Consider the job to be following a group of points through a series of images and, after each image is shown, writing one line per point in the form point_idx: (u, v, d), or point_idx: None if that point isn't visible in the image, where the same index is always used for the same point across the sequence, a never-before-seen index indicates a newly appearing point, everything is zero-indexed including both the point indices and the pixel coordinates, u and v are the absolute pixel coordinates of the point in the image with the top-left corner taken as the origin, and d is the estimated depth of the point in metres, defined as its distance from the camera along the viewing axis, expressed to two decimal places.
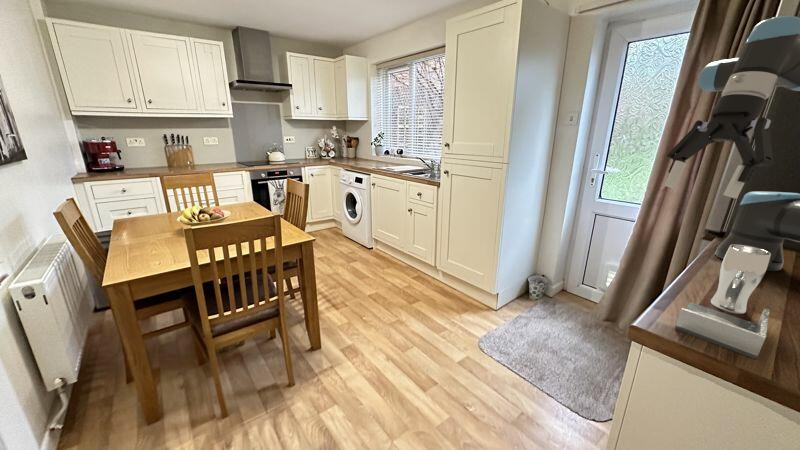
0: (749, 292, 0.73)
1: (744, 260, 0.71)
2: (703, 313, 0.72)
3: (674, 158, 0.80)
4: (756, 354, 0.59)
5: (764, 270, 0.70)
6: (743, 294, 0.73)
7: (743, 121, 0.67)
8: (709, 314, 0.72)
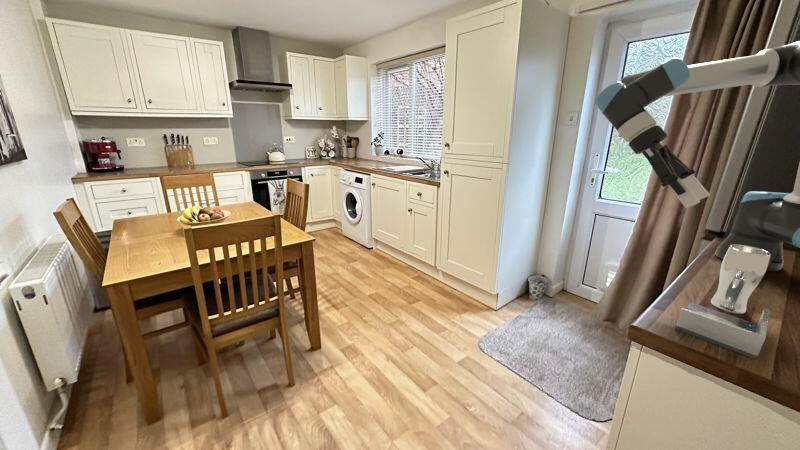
0: (749, 292, 0.73)
1: (744, 260, 0.71)
2: (703, 313, 0.72)
3: None
4: (756, 354, 0.59)
5: (764, 270, 0.70)
6: (743, 294, 0.73)
7: None
8: (709, 314, 0.72)
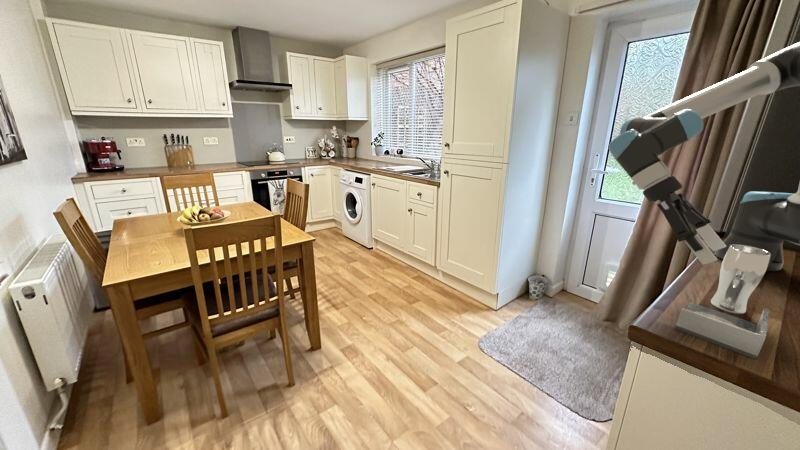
0: (749, 292, 0.73)
1: (744, 260, 0.71)
2: (703, 313, 0.72)
3: None
4: (756, 354, 0.59)
5: (764, 270, 0.70)
6: (743, 294, 0.73)
7: None
8: (709, 314, 0.72)
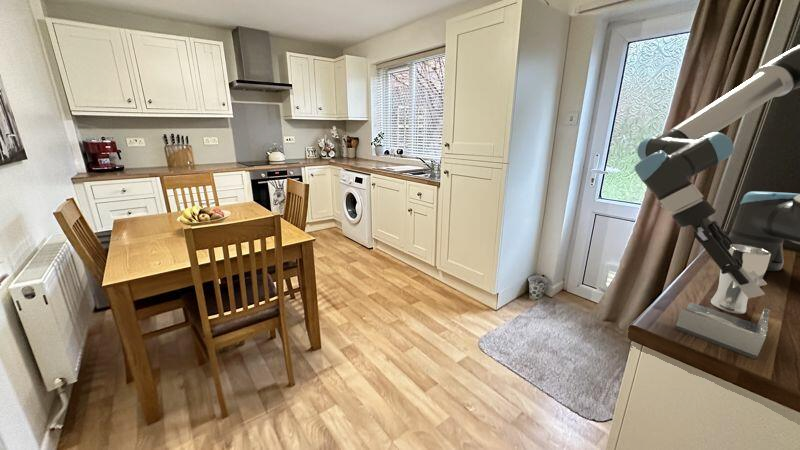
0: None
1: (744, 260, 0.71)
2: (703, 313, 0.72)
3: None
4: (756, 354, 0.59)
5: (764, 270, 0.70)
6: (743, 294, 0.73)
7: None
8: (709, 314, 0.72)
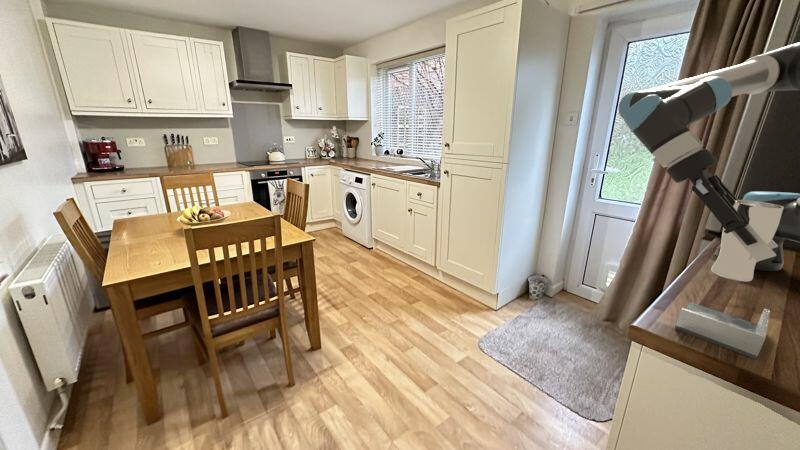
0: None
1: (752, 216, 0.59)
2: (703, 313, 0.72)
3: None
4: (756, 354, 0.59)
5: (775, 227, 0.59)
6: (749, 257, 0.61)
7: (693, 184, 0.65)
8: (709, 314, 0.72)
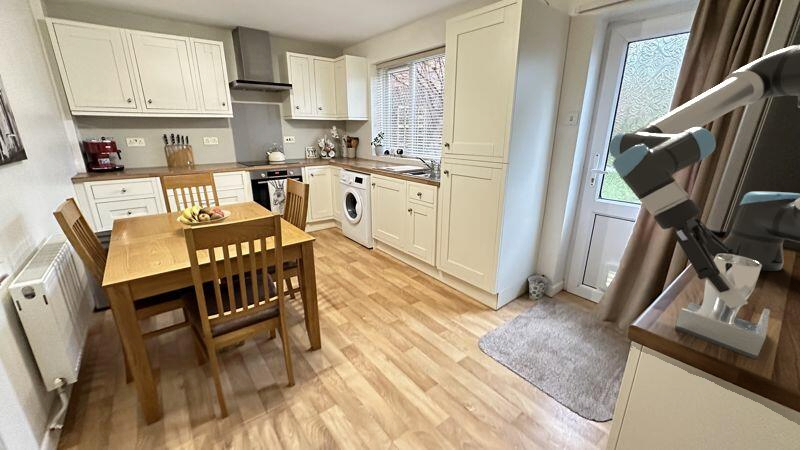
0: (737, 308, 0.64)
1: (732, 272, 0.63)
2: None
3: None
4: (756, 354, 0.59)
5: (754, 283, 0.62)
6: (730, 309, 0.65)
7: None
8: None
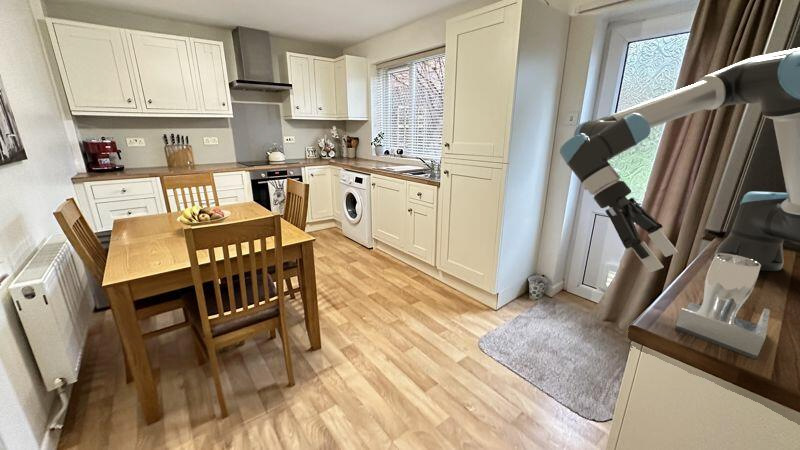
0: (737, 307, 0.64)
1: (731, 272, 0.63)
2: None
3: None
4: (756, 354, 0.59)
5: (753, 283, 0.62)
6: (730, 309, 0.65)
7: None
8: None
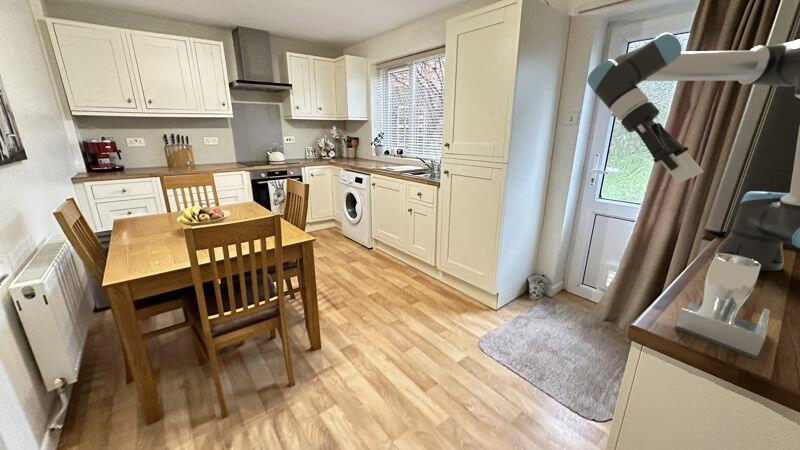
0: (737, 307, 0.64)
1: (731, 272, 0.63)
2: None
3: None
4: (756, 354, 0.59)
5: (753, 283, 0.62)
6: (730, 309, 0.65)
7: None
8: None
